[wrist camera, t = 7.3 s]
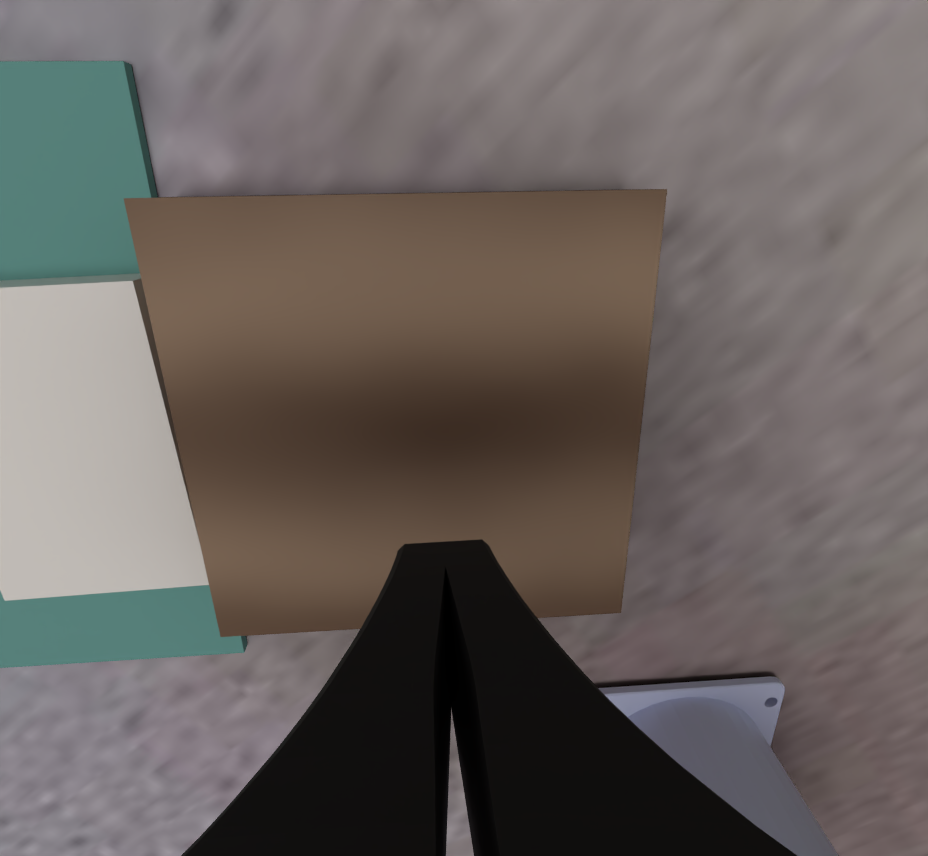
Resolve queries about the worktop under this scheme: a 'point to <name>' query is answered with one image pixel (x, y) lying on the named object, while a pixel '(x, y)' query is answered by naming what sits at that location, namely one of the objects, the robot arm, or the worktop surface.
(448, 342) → the brown flat slab
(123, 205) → the mat
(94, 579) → the cream tilted tile
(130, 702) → the worktop surface
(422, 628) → the robot arm
